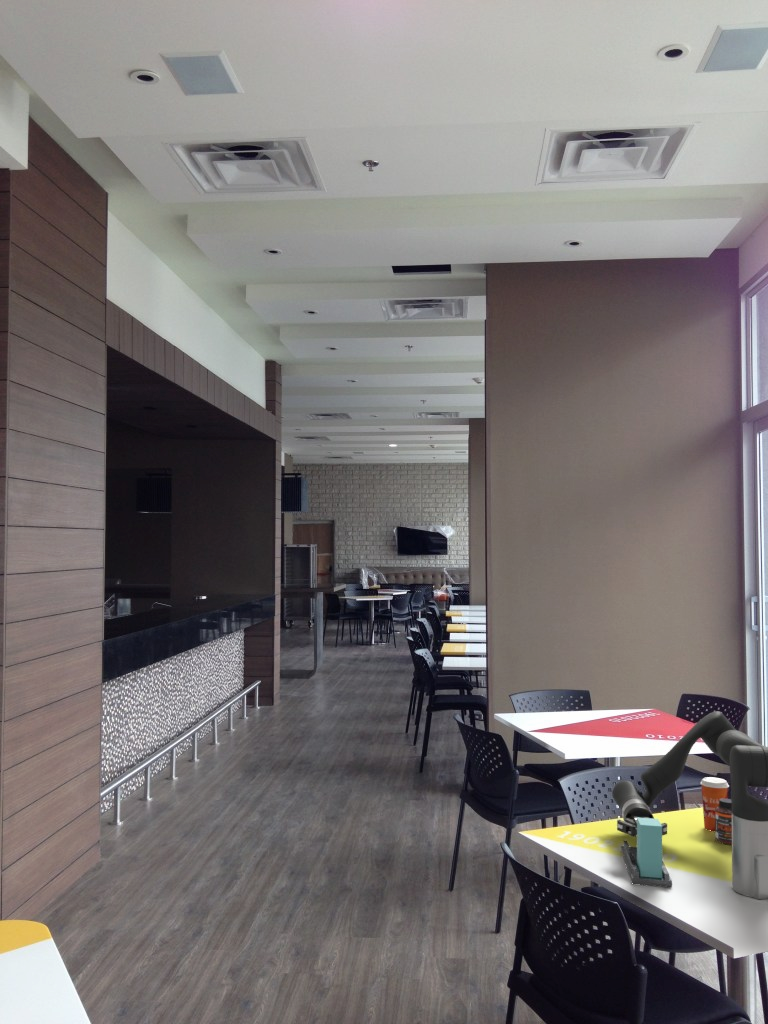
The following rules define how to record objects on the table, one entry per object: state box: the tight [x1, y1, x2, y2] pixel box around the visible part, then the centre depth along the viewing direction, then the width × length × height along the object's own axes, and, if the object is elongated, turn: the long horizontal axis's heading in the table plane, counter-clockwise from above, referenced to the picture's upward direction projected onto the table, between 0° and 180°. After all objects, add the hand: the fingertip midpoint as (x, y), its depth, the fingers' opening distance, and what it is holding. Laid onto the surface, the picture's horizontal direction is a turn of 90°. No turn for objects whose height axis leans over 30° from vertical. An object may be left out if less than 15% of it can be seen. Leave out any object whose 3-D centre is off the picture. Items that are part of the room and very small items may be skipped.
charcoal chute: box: [620, 839, 673, 889], centre depth 205 cm, size 23×9×3 cm, turn 170°
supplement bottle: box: [714, 798, 732, 846], centre depth 227 cm, size 6×6×11 cm
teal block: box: [636, 817, 663, 878], centre depth 198 cm, size 6×5×12 cm
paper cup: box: [700, 776, 730, 832], centre depth 238 cm, size 8×8×14 cm
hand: (646, 838), depth 201 cm, fingers closed
